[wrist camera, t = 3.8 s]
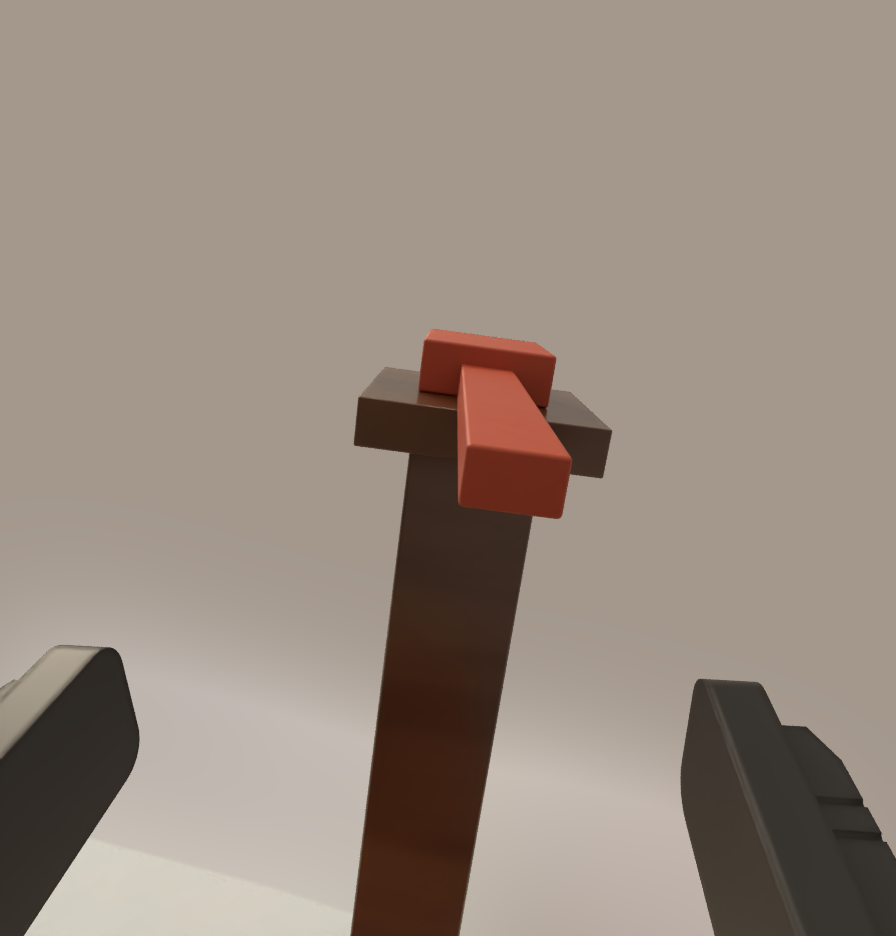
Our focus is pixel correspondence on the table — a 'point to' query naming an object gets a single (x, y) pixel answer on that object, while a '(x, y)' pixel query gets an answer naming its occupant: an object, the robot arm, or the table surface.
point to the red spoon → (500, 421)
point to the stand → (441, 657)
